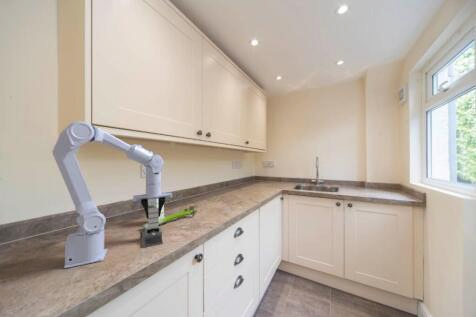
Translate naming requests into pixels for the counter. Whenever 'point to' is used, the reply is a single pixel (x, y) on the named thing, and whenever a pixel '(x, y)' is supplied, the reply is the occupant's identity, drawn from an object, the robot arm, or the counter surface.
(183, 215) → the leek
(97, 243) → the robot arm
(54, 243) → the counter surface
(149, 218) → the column
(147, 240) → the stand
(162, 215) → the syrup box
